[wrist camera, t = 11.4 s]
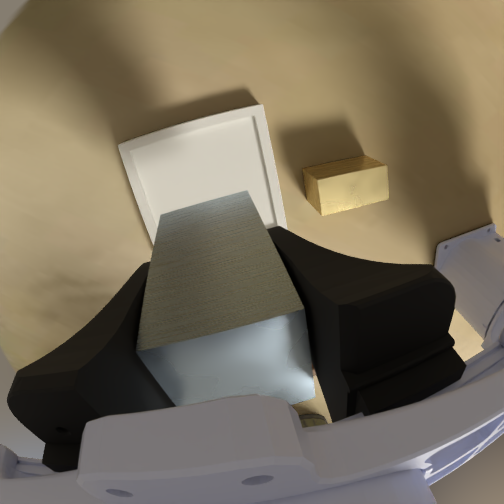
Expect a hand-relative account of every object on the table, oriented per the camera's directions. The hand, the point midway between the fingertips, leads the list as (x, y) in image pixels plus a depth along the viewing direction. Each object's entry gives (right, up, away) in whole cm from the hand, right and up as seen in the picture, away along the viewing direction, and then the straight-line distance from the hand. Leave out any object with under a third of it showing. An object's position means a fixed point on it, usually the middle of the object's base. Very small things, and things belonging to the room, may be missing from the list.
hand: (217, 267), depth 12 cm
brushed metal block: (0, +1, +3) cm, 3 cm away
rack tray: (-2, +5, +8) cm, 10 cm away
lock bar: (+7, +6, +10) cm, 13 cm away
